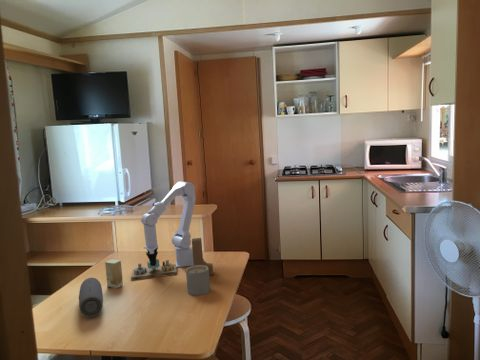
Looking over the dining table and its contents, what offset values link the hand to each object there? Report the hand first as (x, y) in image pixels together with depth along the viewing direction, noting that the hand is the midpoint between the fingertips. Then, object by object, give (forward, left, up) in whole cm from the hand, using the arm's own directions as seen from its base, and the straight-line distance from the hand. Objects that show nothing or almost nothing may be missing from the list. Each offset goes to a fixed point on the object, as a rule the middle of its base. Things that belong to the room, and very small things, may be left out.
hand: (153, 263), depth 202 cm
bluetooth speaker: (+25, +32, -6) cm, 41 cm away
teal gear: (0, 0, -2) cm, 2 cm away
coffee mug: (-20, +28, -5) cm, 35 cm away
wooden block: (-24, +11, -5) cm, 27 cm away
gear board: (0, 0, -5) cm, 5 cm away
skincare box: (+18, +10, -5) cm, 21 cm away
